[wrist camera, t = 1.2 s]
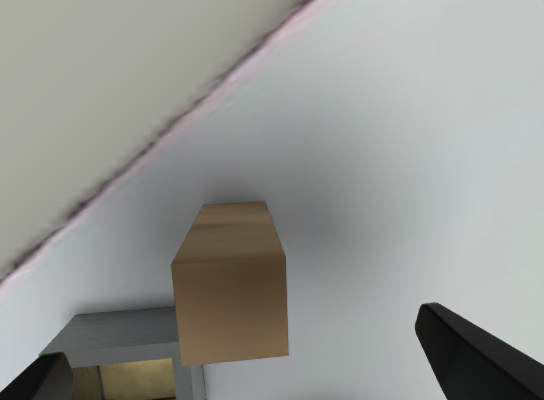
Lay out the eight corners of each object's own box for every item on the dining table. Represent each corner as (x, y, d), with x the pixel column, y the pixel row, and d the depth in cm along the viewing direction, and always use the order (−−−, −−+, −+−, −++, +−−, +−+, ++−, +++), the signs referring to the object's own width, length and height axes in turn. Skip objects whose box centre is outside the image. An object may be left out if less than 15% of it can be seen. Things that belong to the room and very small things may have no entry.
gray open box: (206, 403, 24) (199, 456, 20) (93, 416, 23) (63, 473, 19) (197, 304, 22) (187, 340, 18) (75, 314, 21) (38, 354, 18)
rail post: (267, 258, 22) (288, 355, 12) (208, 262, 22) (181, 366, 12) (264, 201, 21) (285, 256, 11) (203, 204, 21) (170, 264, 11)
